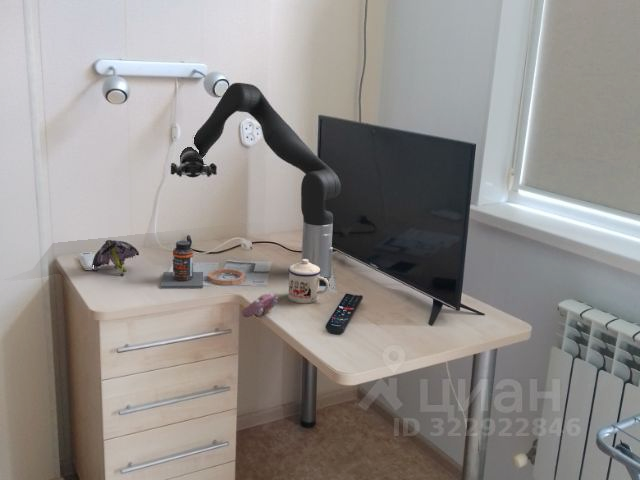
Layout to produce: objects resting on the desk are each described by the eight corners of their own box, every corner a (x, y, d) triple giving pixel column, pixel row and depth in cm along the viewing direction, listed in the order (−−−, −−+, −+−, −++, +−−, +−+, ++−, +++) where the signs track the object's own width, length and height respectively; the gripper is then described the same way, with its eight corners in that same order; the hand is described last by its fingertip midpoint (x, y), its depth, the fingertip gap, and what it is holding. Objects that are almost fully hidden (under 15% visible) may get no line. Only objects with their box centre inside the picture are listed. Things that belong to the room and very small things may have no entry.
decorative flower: (129, 232, 217) (132, 232, 203) (142, 267, 218) (146, 268, 204) (83, 248, 212) (83, 248, 198) (96, 283, 214) (97, 286, 199)
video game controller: (250, 325, 180) (260, 306, 177) (239, 314, 182) (248, 295, 178) (274, 314, 188) (284, 296, 185) (263, 304, 190) (272, 285, 186)
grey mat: (203, 274, 212) (203, 271, 211) (202, 288, 200) (202, 285, 200) (163, 274, 210) (163, 271, 210) (160, 288, 198) (160, 285, 198)
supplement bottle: (171, 281, 202) (170, 244, 199) (174, 274, 208) (174, 238, 204) (191, 282, 202) (191, 245, 199) (194, 275, 208) (194, 239, 205)
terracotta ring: (243, 272, 215) (243, 268, 215) (245, 285, 205) (245, 280, 204) (208, 272, 213) (208, 268, 213) (207, 285, 203) (207, 280, 202)
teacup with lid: (282, 300, 194) (284, 261, 191) (294, 290, 202) (296, 253, 199) (322, 308, 190) (324, 268, 187) (332, 297, 198) (335, 259, 195)
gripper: (169, 152, 223) (170, 161, 208) (213, 152, 226) (218, 161, 211) (170, 174, 225) (171, 185, 210) (213, 175, 228) (218, 185, 213)
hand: (194, 173), depth 210 cm, fingers open, 8 cm apart
